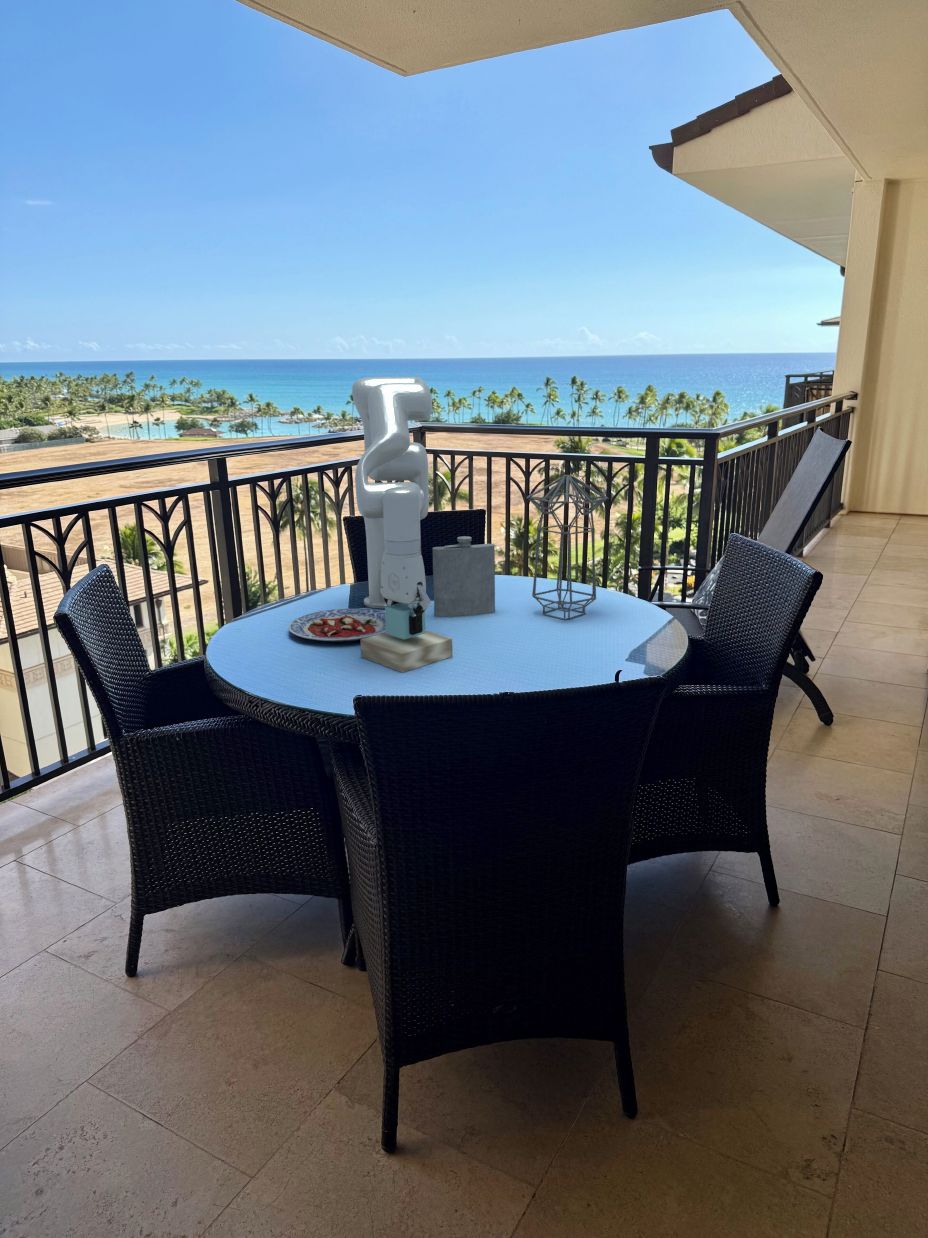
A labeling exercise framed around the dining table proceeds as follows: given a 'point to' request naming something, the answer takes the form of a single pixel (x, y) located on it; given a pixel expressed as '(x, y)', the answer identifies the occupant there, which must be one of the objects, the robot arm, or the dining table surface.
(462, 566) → the hip flask
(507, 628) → the dining table surface
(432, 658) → the birch base
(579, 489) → the geometric lantern
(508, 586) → the dining table surface
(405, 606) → the teal cube
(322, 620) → the ceramic plate
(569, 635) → the dining table surface
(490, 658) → the dining table surface
